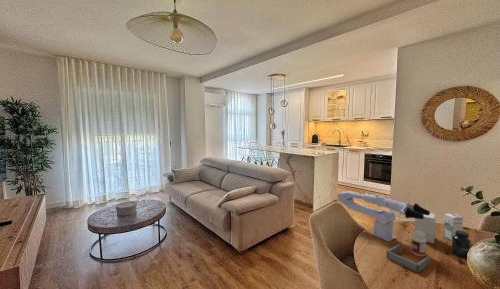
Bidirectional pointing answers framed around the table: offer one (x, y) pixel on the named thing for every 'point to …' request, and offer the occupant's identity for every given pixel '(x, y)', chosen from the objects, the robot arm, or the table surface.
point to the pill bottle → (418, 243)
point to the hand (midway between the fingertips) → (426, 215)
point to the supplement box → (426, 227)
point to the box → (411, 265)
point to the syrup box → (452, 225)
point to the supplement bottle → (461, 244)
